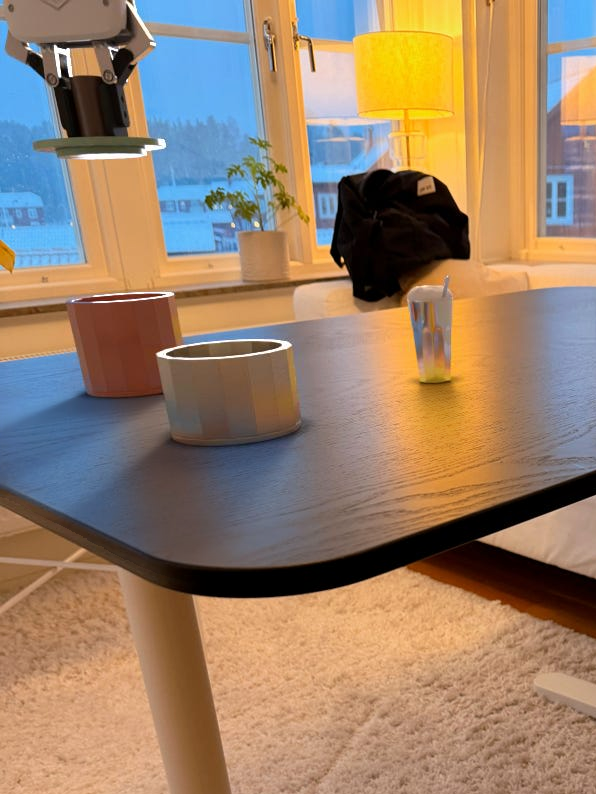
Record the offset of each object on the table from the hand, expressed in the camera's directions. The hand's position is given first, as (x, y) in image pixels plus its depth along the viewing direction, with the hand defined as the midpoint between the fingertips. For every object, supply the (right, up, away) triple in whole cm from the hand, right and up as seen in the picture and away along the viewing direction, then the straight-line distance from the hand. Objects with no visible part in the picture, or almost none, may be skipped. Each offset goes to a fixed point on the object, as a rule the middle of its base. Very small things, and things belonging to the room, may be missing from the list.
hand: (98, 136), depth 81 cm
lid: (0, -1, 0) cm, 1 cm away
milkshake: (+31, -20, +9) cm, 38 cm away
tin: (+15, -29, -8) cm, 33 cm away
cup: (-1, -19, +13) cm, 23 cm away
